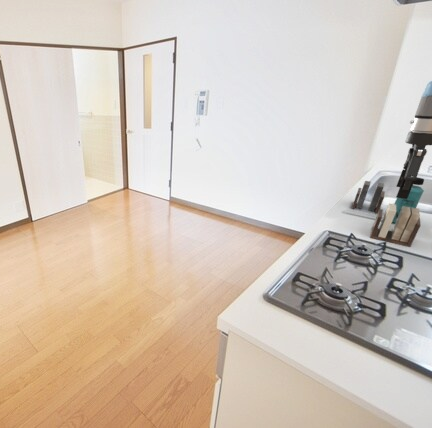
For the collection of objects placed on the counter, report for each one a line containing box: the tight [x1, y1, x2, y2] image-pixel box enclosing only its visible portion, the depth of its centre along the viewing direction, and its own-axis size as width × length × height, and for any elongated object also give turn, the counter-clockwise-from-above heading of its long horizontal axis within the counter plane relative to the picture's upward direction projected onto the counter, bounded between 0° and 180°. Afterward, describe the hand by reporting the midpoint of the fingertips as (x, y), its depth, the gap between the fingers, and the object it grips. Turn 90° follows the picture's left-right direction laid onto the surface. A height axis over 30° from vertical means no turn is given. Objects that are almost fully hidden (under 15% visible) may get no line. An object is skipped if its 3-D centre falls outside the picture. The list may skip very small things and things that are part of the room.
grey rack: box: [351, 180, 386, 215], centre depth 125 cm, size 9×9×13 cm
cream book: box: [378, 202, 396, 238], centre depth 105 cm, size 2×8×11 cm, turn 138°
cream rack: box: [369, 206, 422, 248], centre depth 104 cm, size 11×9×12 cm
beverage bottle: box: [392, 177, 425, 224], centre depth 111 cm, size 6×7×20 cm
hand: (401, 192), depth 100 cm, fingers open, 13 cm apart
